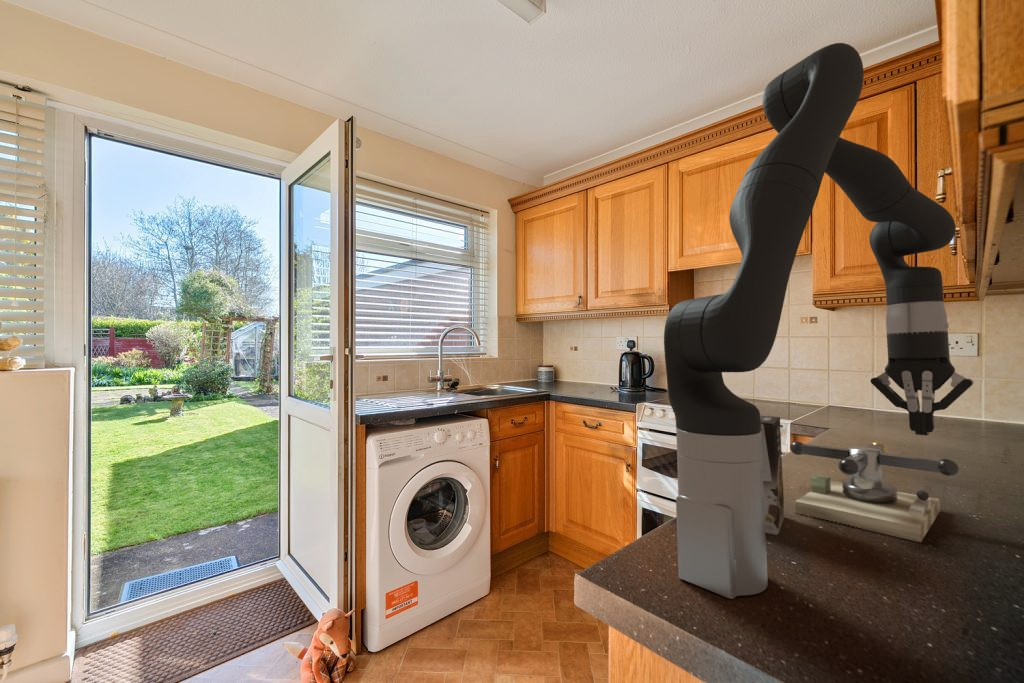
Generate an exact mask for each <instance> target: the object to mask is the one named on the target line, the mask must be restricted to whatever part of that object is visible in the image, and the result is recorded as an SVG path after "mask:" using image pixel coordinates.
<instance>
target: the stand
mask: <svg viewBox="0 0 1024 683" xmlns="http://www.w3.org/2000/svg"><path fill="white" fill-rule="evenodd" d="M810 481H811V490H810V491H808V492H807V493H805V494H804V495H803V496H801V497H799V498H798V499H796V500H795V501H794V503H795V504H794V508H795V514H796V513H801V514H804V515H809V516H813V517H817V518H821V519H825V520H824V521H826V520H829V521H828V522H830V521H833V522H832V523H834V522H837V523H836V524H839V523H842V524H841V525H843V524H846V525H845V526H847V525H850V526H849V527H852V526H854V527H853V528H856V527H857V529H860V528H861V529H862V530H865V531H870V532H874V533H877V534H883V535H888V536H892V537H896V538H900V539H904V540H909V541H913V542H917V543H922V542H923V540H924V539H925V537H926V535H927V533H928V531H929V530H930V528H931V526H932V525H933V524H934V522H935V520H936V518H938V515H939V514H940V511H941V509H940V508H941V507H940V506H941V505H940V498H936V497H931V496H930V494H929V493H928V492H927V491H926V490H918V491H916V494H914V493H907V492H901V491H897V501H895V502H872V501H866V500H860V499H856V498H853V497H850V496H847V495H845V494H844V493H843V489H842V481H837V480H831V477H830V476H827V475H822V474H821V475H819V474H816V475H814V476H812V477H811V478H810ZM804 515H803V516H804ZM809 516H808V517H809ZM813 517H812V518H813ZM817 518H816V519H817ZM821 519H820V520H821Z"/></svg>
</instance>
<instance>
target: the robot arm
mask: <svg viewBox="0 0 1024 683" xmlns="http://www.w3.org/2000/svg"><path fill="white" fill-rule="evenodd" d="M864 72H865V71H864V64H863V60H862V57H861V55H860V53H859V51H858V50H856V48H855V47H853V46H852V45H850V44H848V43H845V42H836V43H835V42H834V43H832V44H828V45H825V46H824V47H822V48H820V49H817V50H816V51H814V52H812V53H811V54H810V55H808V56H806V57H805V58H803V59H801V60H800V61H799V62H797V63H795V64H794V65H792V66H791V67H789V68H788V69H786V70H785V71H783V72H782V73H780V74H778V75H777V76H776V77H775V78H773V79H772V80H771V81H770V82H769V83H768V84H767V85H766V87H765V88H764V91H763V94H762V108H763V112H764V115H765V117H766V119H767V121H768V122H769V124H770V125H771V126H772V128H773V129H774V131H775V132H776V133H778V134H777V135H776V136H775V137H774V138H773V139H772V140H771V141H770V142H769V143H768V144H767V145H766V146H765V148H764V149H763V150H762V151H761V152H760V153H759V154H758V155H757V157H755V158H754V160H753V162H752V163H751V164H750V165H749V167H748V169H747V170H746V171H745V173H744V175H743V178H742V179H741V181H740V184H739V186H738V189H737V190H736V193H735V196H734V197H733V200H732V203H731V206H730V210H729V217H728V219H729V220H728V221H729V225H730V230H731V232H732V235H733V238H734V239H735V242H736V244H737V246H738V248H739V250H740V253H741V261H740V265H739V268H738V271H737V273H736V276H735V278H734V280H733V282H732V284H731V286H730V288H729V289H728V290H727V291H726V292H725V293H720V294H714V295H709V296H702V297H697V298H690V299H686V300H683V301H680V302H678V303H677V304H675V305H674V306H673V307H672V308H671V310H670V311H669V313H668V315H667V317H666V320H665V325H664V332H663V349H664V350H663V352H664V363H665V374H666V383H667V384H666V385H667V394H668V400H669V404H670V407H671V410H672V411H673V413H674V417H675V429H676V435H675V436H676V458H677V459H676V461H677V462H676V464H677V465H676V466H677V468H676V469H677V489H678V490H677V491H678V492H677V493H678V496H676V498H675V505H676V506H675V508H676V509H675V510H676V511H675V512H676V513H675V514H676V536H677V537H676V538H677V539H676V540H677V542H676V543H677V565H678V568H677V569H678V570H677V571H678V578H679V579H681V580H683V581H685V582H688V583H691V584H693V585H695V586H697V587H700V588H703V589H705V590H706V591H707V590H708V591H710V592H713V593H715V594H718V595H720V596H722V597H724V598H727V599H730V600H732V599H734V598H736V597H739V596H740V597H741V596H753V595H757V594H760V593H762V592H764V591H765V590H766V589H767V587H768V584H769V582H768V561H767V560H768V558H767V541H766V540H767V539H766V535H767V534H766V533H765V512H764V489H763V465H762V439H761V417H760V416H761V413H760V410H759V409H758V407H757V406H756V405H755V404H753V403H751V402H749V401H747V400H746V399H743V398H741V397H740V396H738V395H736V394H735V393H734V392H732V391H731V390H730V389H729V388H728V386H726V384H725V382H724V378H723V373H747V372H752V371H755V370H756V369H758V368H760V367H761V366H762V364H764V363H765V362H766V360H767V359H768V357H769V355H770V354H771V351H772V349H773V346H774V345H775V341H776V337H777V334H778V331H779V330H778V329H779V326H780V321H781V317H782V312H783V307H784V302H785V299H786V292H787V289H788V284H789V280H790V276H791V273H792V269H793V267H794V266H793V265H794V263H795V259H796V255H797V253H798V250H799V246H800V244H801V241H802V240H801V239H802V237H803V234H804V232H805V230H806V226H807V224H808V222H809V219H810V217H811V215H812V212H813V210H814V209H813V208H814V207H815V203H816V202H817V198H818V194H819V192H820V188H821V184H822V181H823V178H824V176H825V174H826V175H827V176H828V177H829V178H830V179H831V180H832V181H834V182H835V184H836V185H837V186H838V187H839V188H840V189H841V190H842V191H843V193H845V195H846V196H847V198H848V199H849V200H850V202H851V203H852V204H853V206H854V207H855V208H856V210H857V211H858V212H859V214H861V216H862V217H863V218H864V220H867V221H869V222H872V223H875V224H874V225H873V227H872V228H871V231H870V234H869V237H868V238H869V245H870V248H871V251H872V254H873V255H874V258H875V259H876V261H877V264H878V266H879V269H880V272H881V274H882V278H883V280H884V284H885V297H886V298H885V299H886V313H885V314H886V315H885V328H886V329H885V330H886V344H887V364H886V366H884V372H883V373H881V374H879V375H878V376H876V377H872V378H871V379H870V384H872V386H874V388H876V389H877V391H879V392H880V393H881V394H882V395H883V397H885V398H886V399H887V400H888V401H889V402H890V403H891V404H892V405H893V406H894V407H896V408H901V409H903V410H906V411H907V412H908V418H909V419H908V421H909V423H908V424H909V429H910V430H911V431H913V432H914V433H915V435H916V436H917V435H918V436H926V437H927V436H929V435H930V433H932V432H934V430H935V418H934V417H935V416H934V413H935V412H937V411H940V410H941V411H943V410H946V409H948V408H949V407H950V406H951V405H952V404H953V403H955V401H956V400H958V399H959V398H960V397H961V396H962V395H963V394H964V393H965V392H966V391H968V389H970V388H971V387H972V386H973V385H974V380H973V379H971V378H967V377H964V375H961V374H959V373H958V372H956V368H955V367H954V365H953V364H952V362H951V359H950V357H951V356H950V344H949V342H950V341H949V330H948V329H949V322H948V315H947V311H946V308H945V303H944V302H945V301H944V287H943V286H944V285H943V275H942V272H941V270H940V269H939V268H936V267H933V266H910V265H909V264H908V263H907V262H906V261H905V257H906V256H911V255H916V254H921V253H928V252H932V251H937V250H940V249H943V248H945V247H946V246H948V245H949V244H950V243H951V242H952V240H953V239H954V237H955V235H956V229H957V227H956V226H957V225H956V222H955V220H954V217H953V216H952V214H951V213H950V211H948V210H947V209H946V207H944V206H943V205H941V204H940V203H938V202H937V201H935V200H933V199H932V198H930V197H929V196H927V195H925V194H924V193H922V192H921V191H919V190H917V189H916V188H914V187H913V186H912V184H911V183H910V181H909V180H908V178H907V177H906V176H905V174H904V173H903V172H902V170H901V169H900V167H899V166H898V165H897V163H896V162H895V161H894V160H893V159H892V158H890V157H889V156H888V155H886V154H885V153H883V152H881V151H878V150H877V149H874V148H871V147H868V146H866V145H862V144H858V143H856V142H853V141H851V140H848V139H845V138H843V137H841V136H842V135H841V134H842V133H843V131H844V129H845V127H846V124H847V123H848V122H849V119H850V118H851V116H852V113H853V111H854V110H855V108H856V106H857V104H858V101H859V99H860V96H861V94H862V89H863V85H864V76H865V75H864ZM890 379H891V380H892V381H893V382H894V383H895V384H896V385H897V386H898V387H899V388H900V389H902V390H903V391H904V396H905V399H906V400H905V399H904V398H903V397H902V396H900V394H898V393H897V392H896V391H895V390H894V389H893V388H892V387H891V386H890V385H891V384H892V381H891V380H890ZM949 379H951V382H950V386H951V387H952V389H951V391H949V392H947V394H946V395H945V396H944V397H943V398H942V399H940V400H939V401H935V397H936V391H938V390H939V389H941V388H942V387H943V386H944V385H945V383H947V382H948V381H949ZM919 391H921V403H920V399H919V398H920V397H919V395H920V394H919Z"/></svg>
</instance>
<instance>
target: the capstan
mask: <svg viewBox="0 0 1024 683" xmlns="http://www.w3.org/2000/svg"><path fill="white" fill-rule="evenodd" d="M789 449H790V450H789V451H790V452H791V453H792V454H794V455H797V456H801V455H805V456H813V457H820V458H821V457H822V458H827V459H828V458H829V459H835V460H840V461H838V465H837V466H838V468H839V471H840V472H841V473H842V474H844V475H846V476H850V477H849V478H845V479H843V480H841V482H842V489H843V493H844V494H845V495H847V496H850V497H853V498H856V499H860V500H866V501H872V502H895V501H897V492H898V488H897V486H895V485H893V484H890V483H888V482H883V476H882V474H883V473H882V466H889V467H895V468H902V469H909V470H918V471H923V472H924V471H925V472H932V473H939V474H941V475H943V476H947V477H953V476H955V475H957V474H958V473H959V472H960V467H959V465H958V464H957V462H955V461H954V460H953V459H950V458H941V459H935V458H926V457H919V456H918V457H917V456H911V455H909V456H908V455H902V454H893V453H887V452H888V446H887V445H886V444H885V443H884V442H882V441H879V440H878V441H877V440H876V441H873V442H871V443H870V444H868V445H867V446H850V447H848V448H842V447H835V446H834V447H833V446H828V445H827V446H826V445H819V444H810V443H804V442H801V441H797V440H796V441H793V442H791V444H790V445H789Z"/></svg>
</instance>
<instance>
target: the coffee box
mask: <svg viewBox="0 0 1024 683" xmlns="http://www.w3.org/2000/svg"><path fill="white" fill-rule="evenodd" d="M760 417H761V439H762V465H763V489H764V512H765V534H770V535H773V536H774V535H775V536H778V535H779V533H780V531H781V528H782V525H783V523H784V519H785V496H784V477H783V474H784V473H783V457H782V456H783V452H782V436H781V435H782V434H781V433H782V432H781V417H780V416H772V415H771V416H769V415H768V416H767V415H760Z"/></svg>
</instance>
